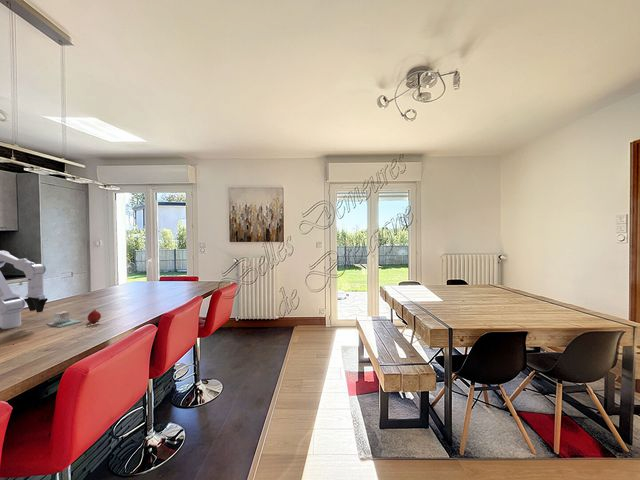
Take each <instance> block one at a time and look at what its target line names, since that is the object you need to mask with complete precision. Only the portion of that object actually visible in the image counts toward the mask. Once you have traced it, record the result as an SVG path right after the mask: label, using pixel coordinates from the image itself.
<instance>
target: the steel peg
mask: <svg viewBox="0 0 640 480" xmlns="http://www.w3.org/2000/svg"><path fill="white" fill-rule="evenodd" d="M69 319H70V311H66V310H64V311H60V312H54V322H55V324H61V323H66V322H70V321H69Z"/></svg>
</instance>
